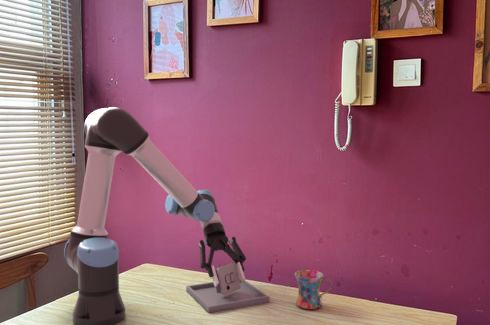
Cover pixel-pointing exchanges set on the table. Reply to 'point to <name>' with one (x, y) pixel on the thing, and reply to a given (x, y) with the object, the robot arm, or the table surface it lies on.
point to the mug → (309, 288)
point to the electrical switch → (227, 279)
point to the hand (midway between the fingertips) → (230, 282)
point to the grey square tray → (226, 297)
